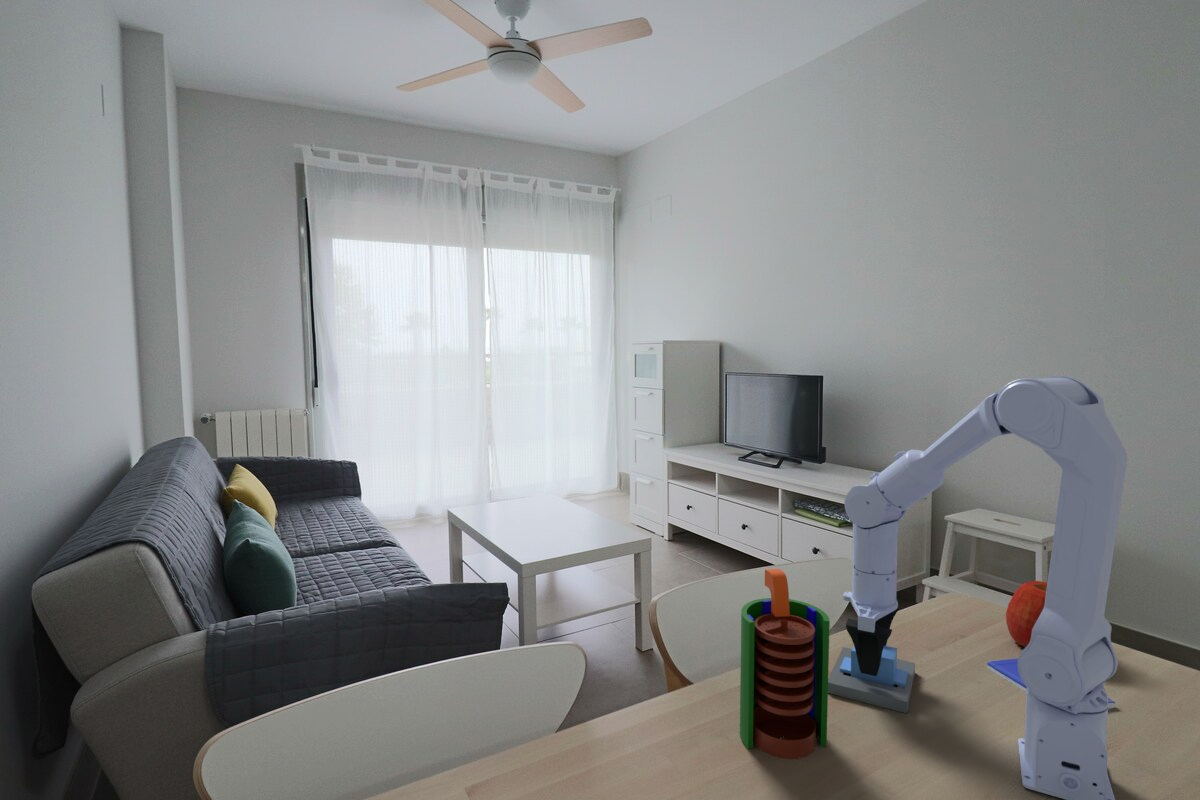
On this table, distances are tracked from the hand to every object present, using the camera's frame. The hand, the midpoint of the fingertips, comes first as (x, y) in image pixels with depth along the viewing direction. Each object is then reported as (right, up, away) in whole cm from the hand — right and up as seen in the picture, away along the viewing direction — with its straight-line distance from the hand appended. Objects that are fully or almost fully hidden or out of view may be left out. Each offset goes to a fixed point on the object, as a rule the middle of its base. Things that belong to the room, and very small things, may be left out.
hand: (872, 661), depth 88 cm
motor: (-17, -4, -12) cm, 21 cm away
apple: (+32, -2, +10) cm, 33 cm away
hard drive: (+24, -4, -1) cm, 24 cm away
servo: (0, -3, 0) cm, 3 cm away
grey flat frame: (0, -3, 0) cm, 3 cm away
